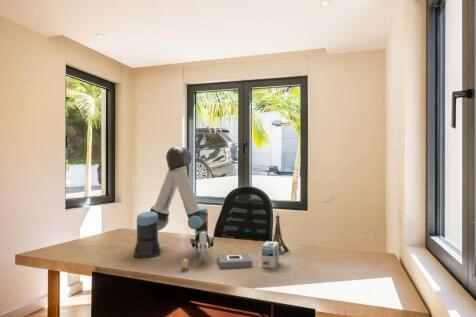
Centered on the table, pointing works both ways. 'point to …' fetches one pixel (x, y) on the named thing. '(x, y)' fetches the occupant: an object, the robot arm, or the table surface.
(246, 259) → the flat grey box
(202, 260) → the steel pin
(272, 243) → the light bulb box
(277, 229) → the eiffel tower
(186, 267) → the brass pin
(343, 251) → the table surface
